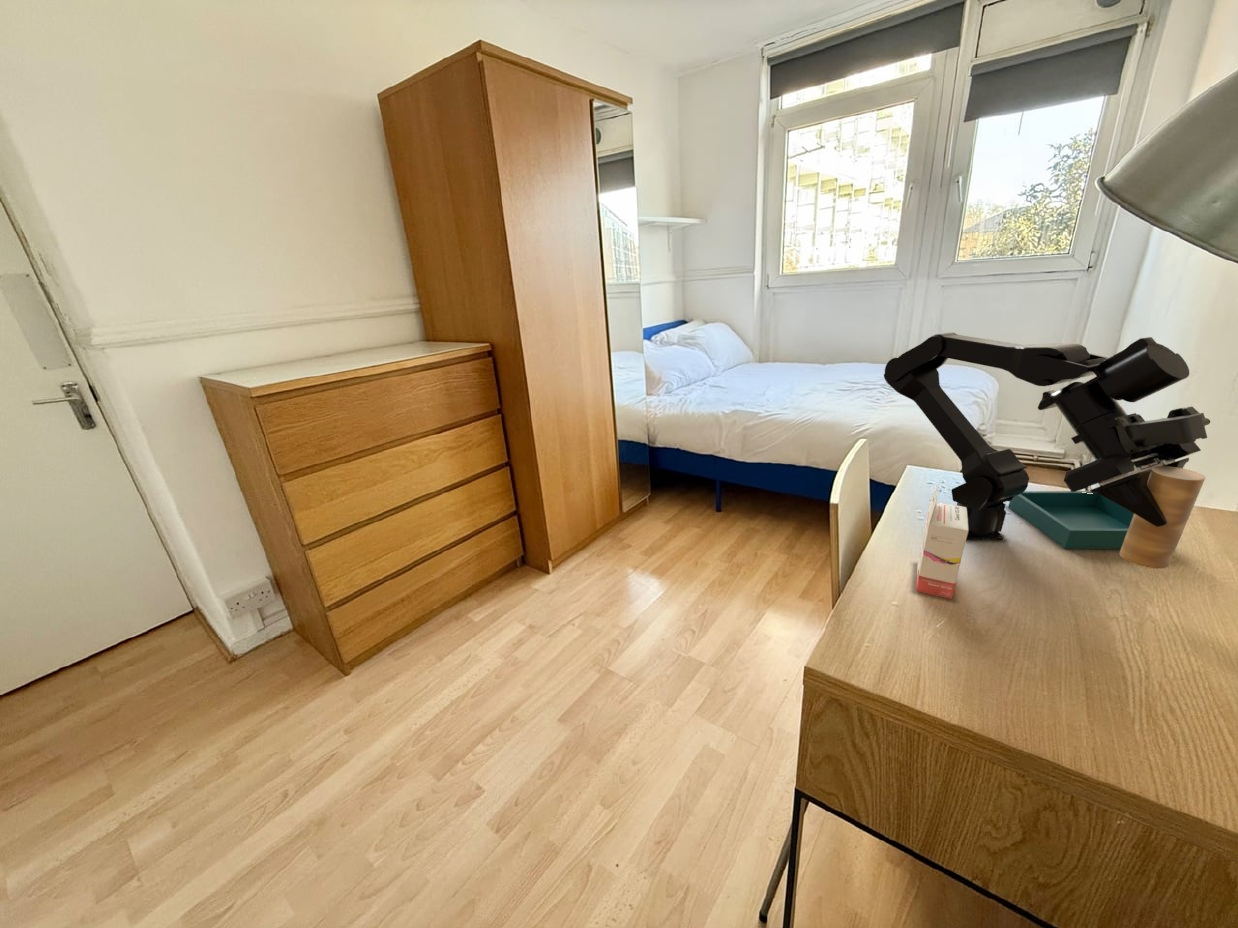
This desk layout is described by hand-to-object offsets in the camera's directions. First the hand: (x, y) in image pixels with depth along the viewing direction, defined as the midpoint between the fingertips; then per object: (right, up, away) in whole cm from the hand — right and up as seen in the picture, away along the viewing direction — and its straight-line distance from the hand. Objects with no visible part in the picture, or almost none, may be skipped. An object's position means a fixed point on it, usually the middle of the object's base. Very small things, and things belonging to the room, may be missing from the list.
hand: (1173, 521), depth 64 cm
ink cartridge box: (-23, -11, +13) cm, 29 cm away
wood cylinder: (0, -6, +4) cm, 7 cm away
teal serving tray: (+12, -4, +25) cm, 28 cm away
